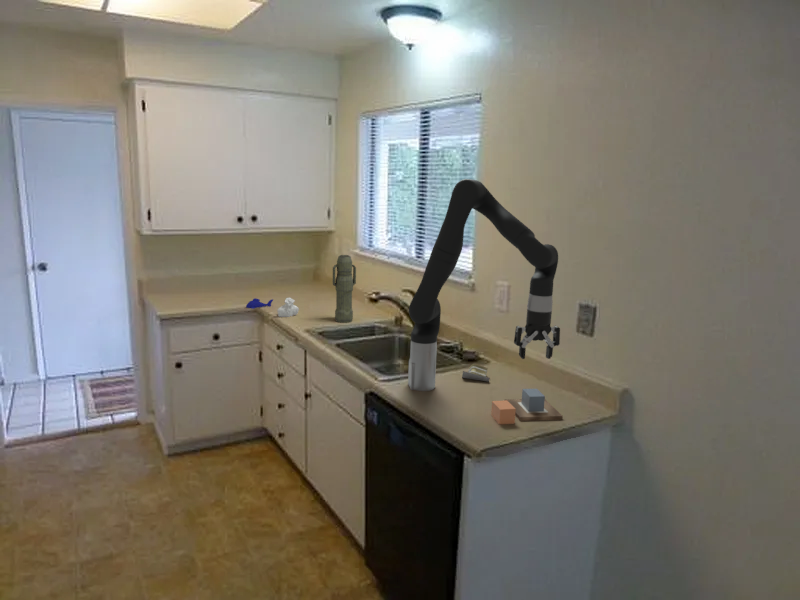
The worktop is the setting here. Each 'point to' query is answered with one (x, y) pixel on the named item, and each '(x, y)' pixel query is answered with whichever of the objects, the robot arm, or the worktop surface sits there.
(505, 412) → the terracotta brick
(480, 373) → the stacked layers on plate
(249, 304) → the fish toy
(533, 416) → the plate
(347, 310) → the thermos
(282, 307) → the bust
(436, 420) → the worktop surface
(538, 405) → the slate brick
